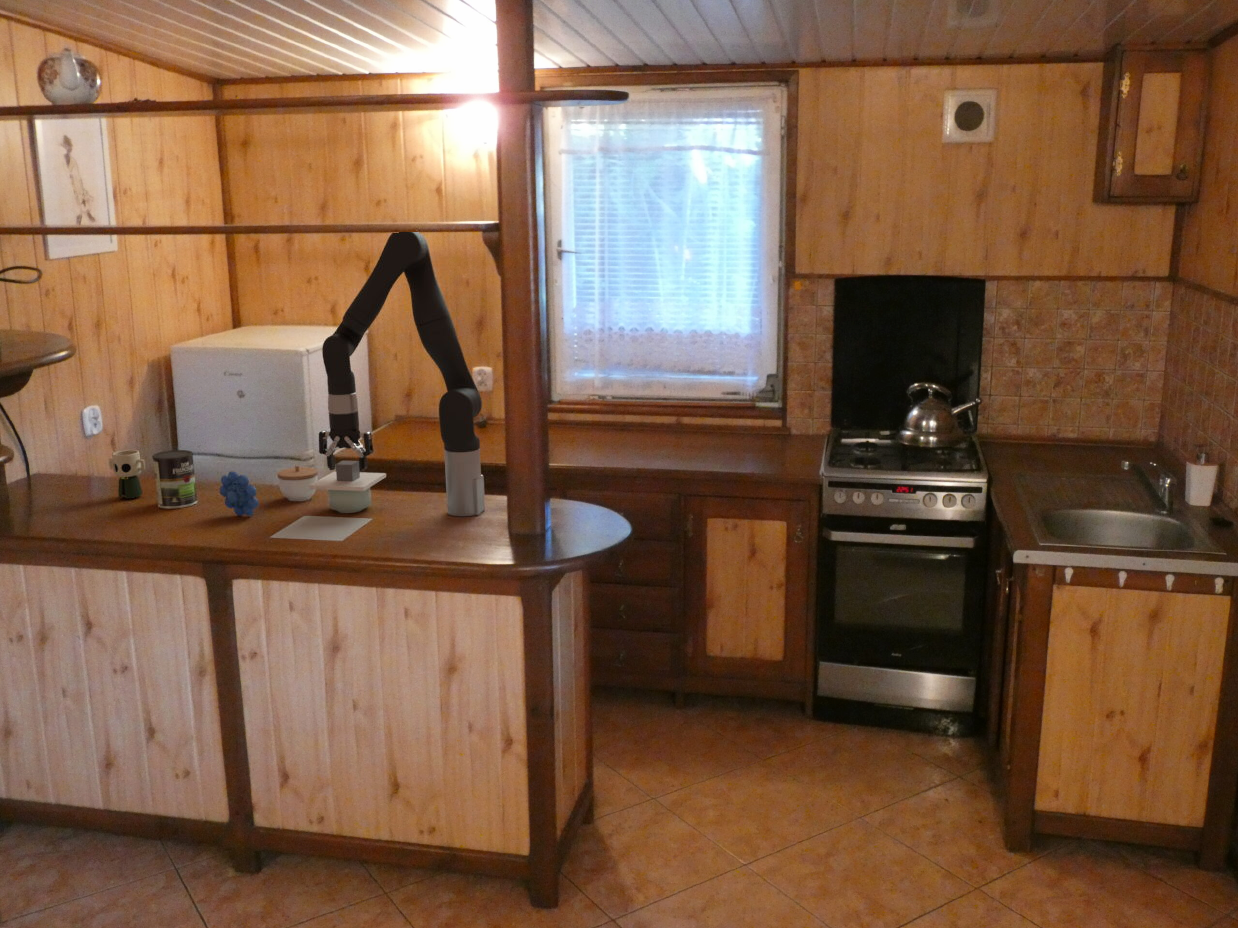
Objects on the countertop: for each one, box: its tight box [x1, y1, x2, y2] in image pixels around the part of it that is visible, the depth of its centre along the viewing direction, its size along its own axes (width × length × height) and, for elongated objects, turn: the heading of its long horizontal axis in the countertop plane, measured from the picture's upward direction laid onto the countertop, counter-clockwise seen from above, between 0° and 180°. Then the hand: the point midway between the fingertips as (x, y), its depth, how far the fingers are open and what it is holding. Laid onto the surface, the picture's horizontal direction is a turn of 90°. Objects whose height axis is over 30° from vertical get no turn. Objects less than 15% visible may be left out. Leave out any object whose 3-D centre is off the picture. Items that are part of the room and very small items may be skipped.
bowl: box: [327, 487, 372, 514], centre depth 298 cm, size 11×11×8 cm
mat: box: [269, 515, 373, 542], centre depth 282 cm, size 19×19×1 cm
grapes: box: [219, 470, 259, 517], centre depth 293 cm, size 12×7×12 cm, turn 70°
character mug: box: [108, 449, 146, 500], centre depth 312 cm, size 11×7×13 cm, turn 79°
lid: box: [309, 460, 387, 491], centre depth 296 cm, size 15×15×6 cm
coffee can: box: [151, 449, 199, 510], centre depth 305 cm, size 10×10×14 cm
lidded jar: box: [277, 465, 319, 502], centre depth 310 cm, size 11×11×9 cm
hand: (347, 470), depth 296 cm, fingers open, 8 cm apart
